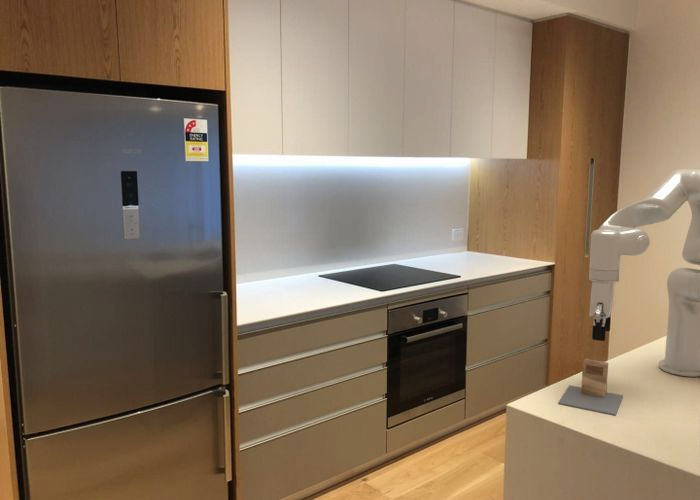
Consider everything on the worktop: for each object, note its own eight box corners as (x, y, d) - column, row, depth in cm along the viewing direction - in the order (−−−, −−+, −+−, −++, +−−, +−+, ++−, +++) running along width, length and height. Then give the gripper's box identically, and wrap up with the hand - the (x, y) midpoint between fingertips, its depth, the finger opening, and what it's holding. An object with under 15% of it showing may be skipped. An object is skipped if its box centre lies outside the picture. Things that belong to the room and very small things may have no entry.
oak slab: (583, 389, 164) (585, 358, 162) (606, 394, 160) (608, 362, 159) (581, 393, 161) (582, 361, 160) (604, 397, 158) (606, 365, 157)
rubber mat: (569, 386, 167) (569, 385, 167) (623, 396, 160) (623, 395, 160) (558, 403, 155) (558, 402, 155) (615, 415, 148) (615, 414, 148)
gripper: (594, 268, 169) (591, 325, 172) (584, 279, 154) (581, 342, 157) (622, 270, 165) (619, 328, 168) (615, 282, 151) (611, 346, 153)
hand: (601, 335), depth 163 cm, fingers open, 9 cm apart
